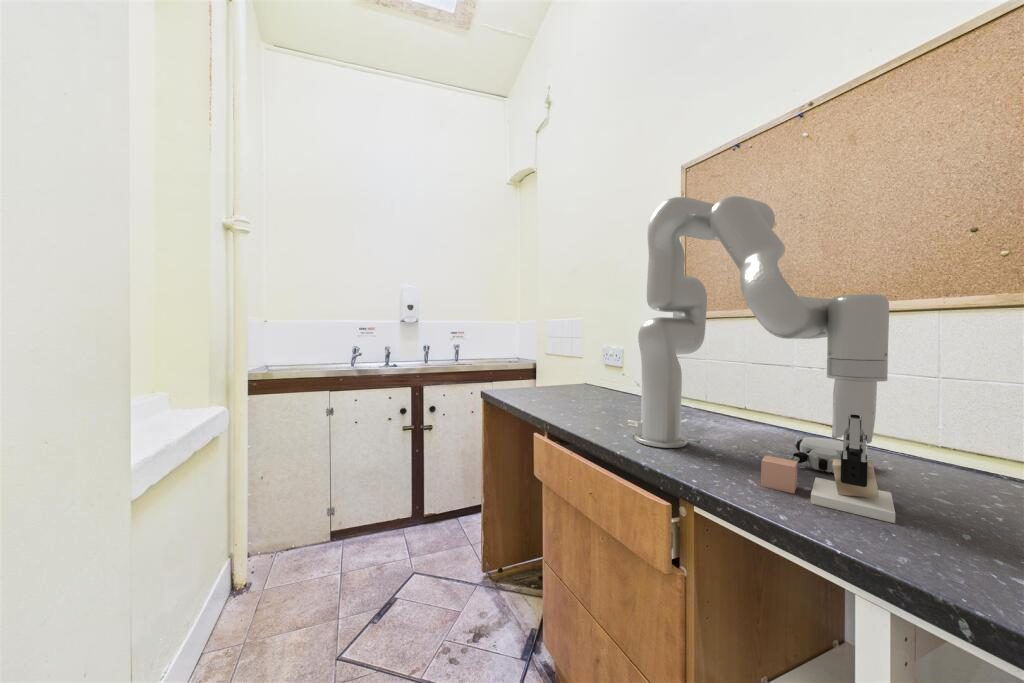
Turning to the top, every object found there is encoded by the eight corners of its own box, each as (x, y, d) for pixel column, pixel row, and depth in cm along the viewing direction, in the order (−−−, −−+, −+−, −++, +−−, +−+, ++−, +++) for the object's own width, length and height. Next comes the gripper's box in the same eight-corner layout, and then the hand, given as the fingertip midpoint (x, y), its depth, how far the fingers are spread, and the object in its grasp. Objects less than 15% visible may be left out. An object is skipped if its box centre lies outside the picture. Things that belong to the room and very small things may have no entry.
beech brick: (838, 494, 65) (832, 465, 65) (839, 487, 68) (833, 459, 68) (879, 497, 61) (872, 466, 62) (878, 490, 64) (871, 460, 65)
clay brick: (760, 486, 72) (761, 460, 72) (764, 480, 75) (765, 455, 75) (794, 494, 69) (794, 466, 69) (796, 487, 72) (797, 461, 72)
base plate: (810, 503, 65) (810, 494, 65) (815, 485, 72) (815, 477, 72) (895, 523, 58) (895, 513, 58) (890, 501, 66) (891, 492, 66)
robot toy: (863, 488, 73) (867, 463, 84) (864, 465, 73) (868, 442, 84) (785, 471, 82) (797, 450, 93) (785, 450, 82) (797, 432, 92)
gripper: (829, 365, 73) (827, 462, 74) (823, 372, 61) (821, 489, 61) (884, 368, 68) (882, 472, 69) (891, 376, 56) (888, 503, 56)
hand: (853, 479), depth 65 cm, fingers closed on beech brick, 4 cm apart
